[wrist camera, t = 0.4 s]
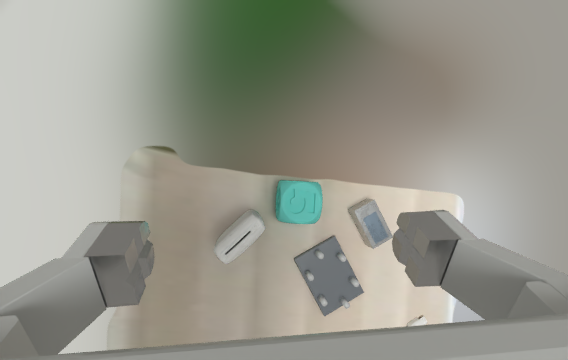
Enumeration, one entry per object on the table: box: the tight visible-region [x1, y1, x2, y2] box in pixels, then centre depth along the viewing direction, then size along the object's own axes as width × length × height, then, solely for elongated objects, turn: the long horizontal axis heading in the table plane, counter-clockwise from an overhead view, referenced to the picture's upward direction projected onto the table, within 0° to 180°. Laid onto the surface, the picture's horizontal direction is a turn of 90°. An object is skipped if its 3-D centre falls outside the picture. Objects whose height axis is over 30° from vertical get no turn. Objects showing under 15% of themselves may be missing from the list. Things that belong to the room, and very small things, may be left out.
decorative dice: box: [276, 180, 322, 224], centre depth 59 cm, size 8×8×8 cm
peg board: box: [294, 236, 364, 316], centre depth 62 cm, size 14×10×4 cm
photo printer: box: [214, 209, 266, 264], centre depth 55 cm, size 10×4×12 cm, turn 132°
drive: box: [348, 199, 393, 249], centre depth 63 cm, size 9×5×4 cm, turn 28°
